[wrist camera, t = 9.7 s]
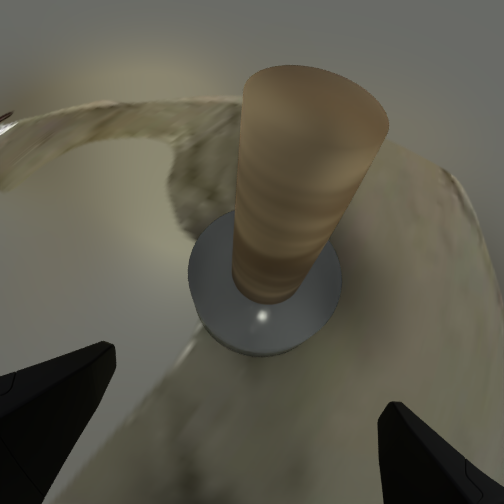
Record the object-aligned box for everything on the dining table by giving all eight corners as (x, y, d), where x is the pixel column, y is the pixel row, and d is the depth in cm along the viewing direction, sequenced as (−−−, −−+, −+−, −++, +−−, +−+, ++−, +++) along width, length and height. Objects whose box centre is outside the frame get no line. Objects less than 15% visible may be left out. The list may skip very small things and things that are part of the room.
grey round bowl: (224, 378, 19) (223, 374, 16) (176, 257, 23) (169, 231, 20) (345, 323, 22) (367, 307, 18) (288, 219, 26) (298, 191, 22)
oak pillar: (266, 319, 17) (335, 174, 6) (216, 267, 19) (211, 87, 8) (315, 273, 19) (409, 119, 8) (267, 227, 20) (307, 56, 9)
